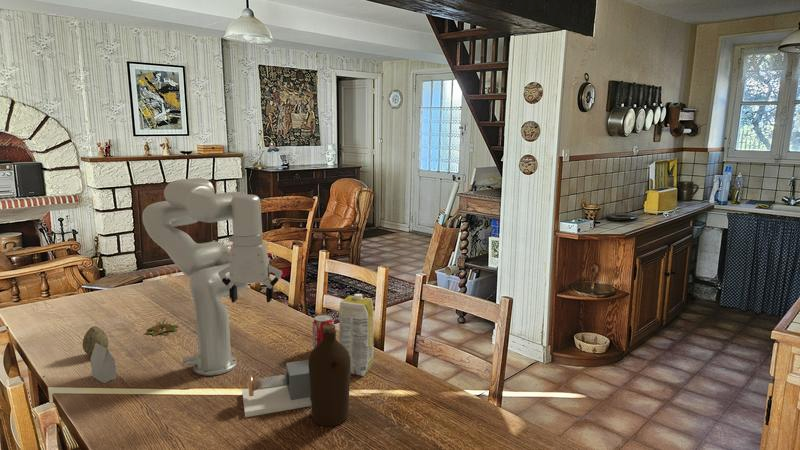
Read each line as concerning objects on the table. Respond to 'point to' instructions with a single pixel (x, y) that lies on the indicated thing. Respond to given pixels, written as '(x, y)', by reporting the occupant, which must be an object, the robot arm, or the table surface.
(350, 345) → the juice carton
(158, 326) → the green leafy plant
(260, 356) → the table surface
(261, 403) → the bearing board
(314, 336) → the soda can
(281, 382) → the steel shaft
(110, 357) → the grey angular block
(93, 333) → the decorative egg
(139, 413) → the table surface
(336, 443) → the table surface
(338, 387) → the olive oil
